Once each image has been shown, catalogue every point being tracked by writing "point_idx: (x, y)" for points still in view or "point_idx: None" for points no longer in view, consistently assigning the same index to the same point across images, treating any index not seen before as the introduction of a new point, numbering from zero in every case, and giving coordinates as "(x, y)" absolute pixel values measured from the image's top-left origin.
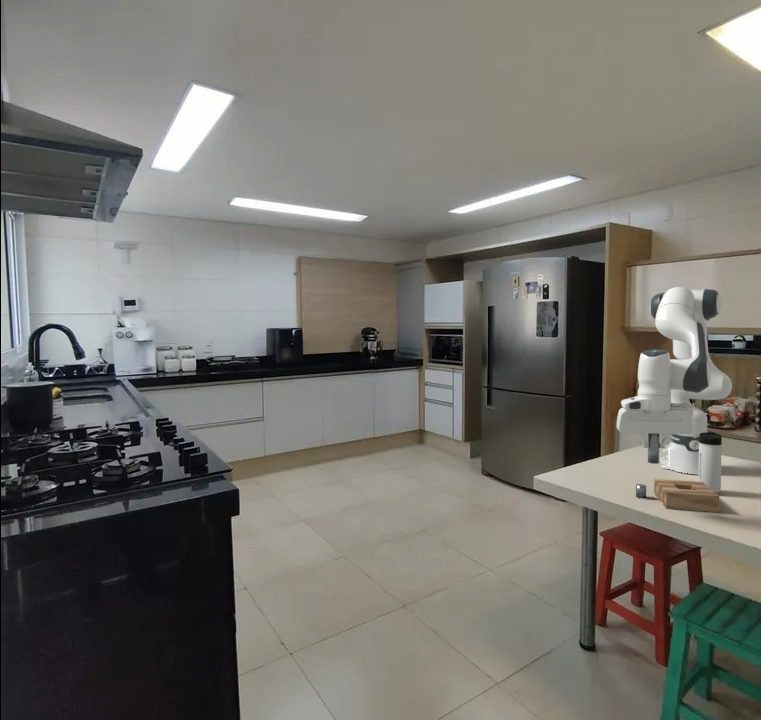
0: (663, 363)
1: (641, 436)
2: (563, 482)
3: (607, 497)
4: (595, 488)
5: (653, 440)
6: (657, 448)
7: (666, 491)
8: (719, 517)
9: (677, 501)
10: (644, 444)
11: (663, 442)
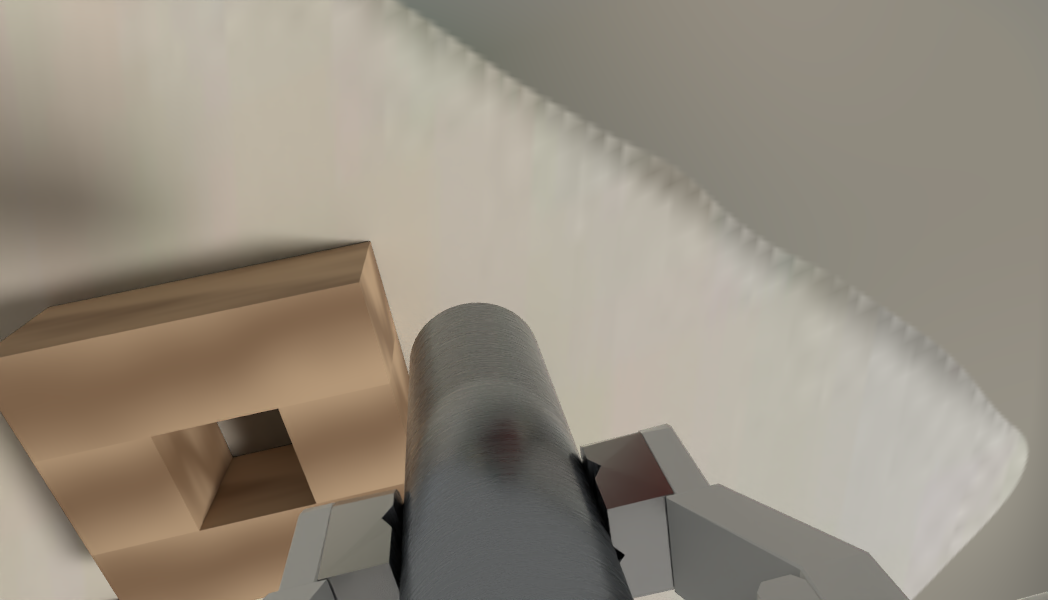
0: None
1: (834, 564)
2: (915, 444)
3: (708, 293)
4: (756, 423)
5: (529, 534)
6: (433, 444)
7: (359, 306)
8: (33, 210)
9: (291, 273)
10: (672, 456)
11: (311, 587)
